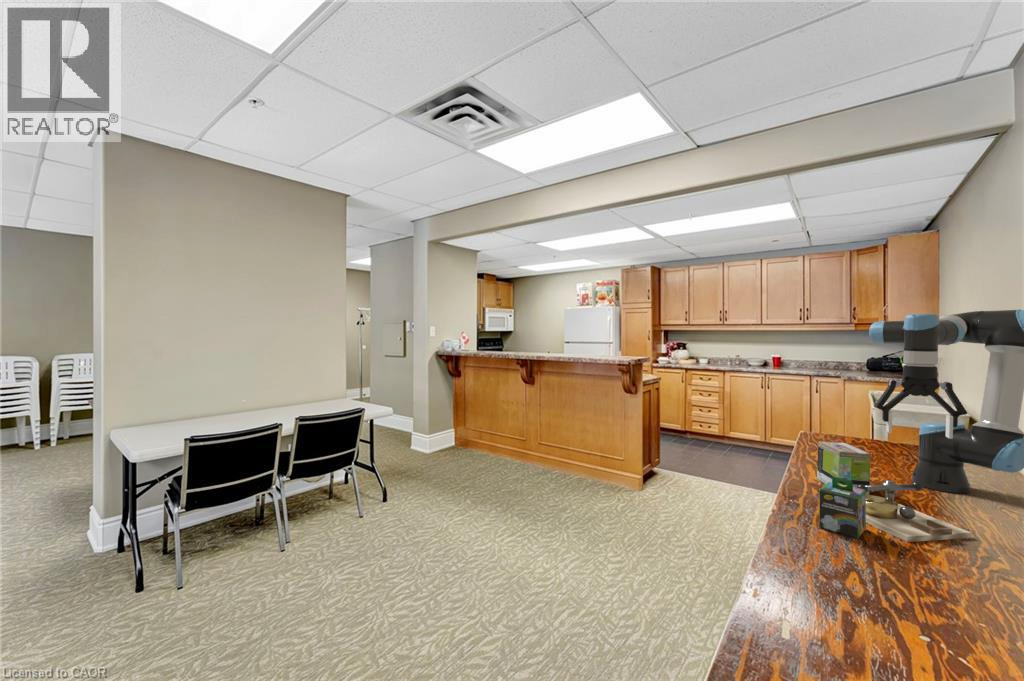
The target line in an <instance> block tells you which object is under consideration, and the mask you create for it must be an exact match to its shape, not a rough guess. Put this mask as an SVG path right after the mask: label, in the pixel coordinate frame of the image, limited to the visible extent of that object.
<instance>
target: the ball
mask: <svg viewBox="0 0 1024 681" xmlns="http://www.w3.org/2000/svg"><path fill="white" fill-rule="evenodd" d="M903 506H904V507H901V508H900V510H899V513H900V515H901V516H902V517H903V518H905V519H913V518H914V517H915V515H916V513H915V511H914V510H915V509H913V508H912V507H910V506H905V505H903Z"/></svg>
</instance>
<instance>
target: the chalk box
mask: <svg viewBox="0 0 1024 681" xmlns="http://www.w3.org/2000/svg"><path fill="white" fill-rule="evenodd" d="M839 481H842V482H844V483H846V484H847V486H846V485H841V484H838V482H839ZM818 493H819V494H818V495H819V497H818V498H819V500H818V502H819V504H818V506H819V509H818V510H819V512H818V515H819V518H818V519H819V520H818V521H819V522H818V523H819V526H818V527H819V529H824V530H828V531H831V532H834V533H838V534H839V535H844V536H846V537H850V538H853V539H856V540H857V539H859V538H860V537H861V536H862V534H864V532H865V530H866V529H867V523H866V490H865V489H860V488H856V487H853V483H852V481H851V480H848V479H843V478H839V477H832V483H831V482H828V483H827V484H825V483H824V484H823V486H822V487H821V488H820V489H819V492H818Z"/></svg>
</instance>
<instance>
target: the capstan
mask: <svg viewBox="0 0 1024 681" xmlns="http://www.w3.org/2000/svg"><path fill="white" fill-rule="evenodd" d="M857 488H860V489H865V490H866V493H867V492H869V493H870V492H871V493H872V492H883V493H884V494H885V497H882V496H878V495H870V494H869V495H866V514H869V515H872V516H876V517H881V518H890V519H892V518H897V517H898V504H899V503H898V502H896V501H895V495H898V494H899V491H909V490H910V491H911V490H914V491H916V492H921V491H923V489H924V487H923V485H922V484H921V483H919V482H912V483H904V484H900V483H899V484H897V483H895V481H894V480H890V479H886V480H885V481H882V482H881V485H880V484H879V485H870V486H865V485H858V486H857Z"/></svg>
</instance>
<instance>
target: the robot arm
mask: <svg viewBox="0 0 1024 681" xmlns="http://www.w3.org/2000/svg"><path fill="white" fill-rule="evenodd" d="M868 334H869V338H870V340H871V341H872V342H874V343H875V344H877V343H879V344H900V345H901V344H902V345H903V361H902V363H903V364H905V365H903V366H902V379H901V380H895V379H889V380H888V385H887V387H886V389H885V390H884V392H883V393H882V394H881V396H880V397H879V399H878V400H877V402H876V403H875V404H874V407H875V408H876V409H878V410H880V411H881V412H882V413H881V414H882V416H881V417H882V419H881V420H882V421H883V422H886V426H885V431H886V433H888V434H892V433H893V411H891V410H892V409H893V408H895V407H896V406H897V405H898V404H899V403H901V402H902V401H903V400H904V399H905V398H907V397H908V396H910V395H911V396H915V397H919V396H921V397H928V396H930V397H931V398H932V399H934V400H935V401H936V402H937V404H939V405H940V407H942V408H943V409H944V410H945V411H946V412H947V413H949V414H945V422H943V421H942V422H939V421H937V422H936V421H935V422H934V421H933V422H930V421H928V422H924V423H921V424H920V426H919V430H918V431H919V432H918V461H917V464H915V465H916V466H915V467H914V469H913V472H912V473H911V478H910V479H911V482H912V483H914V482H919V483H921V484H922V485H923V488H927V489H931V490H935V491H940V492H946V493H954V494H967V493H971V484H970V482H969V479H968V476H967V473H966V471H965V468H964V464H968V465H974V466H977V467H981V468H987V469H990V470H991V469H992V470H994V471H996V472H997V471H999V472H1000V471H1001V472H1005V473H1011V474H1014V473H1018V472H1021V471H1022V470H1024V431H1022V430H1021V429H1020V428H1019V423H1020V417H1021V411H1022V405H1023V399H1024V309H1010V310H1008V309H1007V310H1006V309H1005V310H1003V309H1002V310H978V311H977V310H975V311H968V312H961V313H955V314H954V313H953V314H946V315H942V316H940V317H939V316H938V314H936V313H919V314H918V313H913V314H912V313H911V314H906V315H905V317H904V320H882V321H875V322H873V323H871V325H870V327H869V331H868ZM960 342H961V343H967V344H968V343H969V344H982V345H983V344H984V349H986V350H987V351H988V352H989V358H988V365H987V372H986V378H985V384H984V392H983V397H982V404H981V409H980V415H979V421H977V422H975V423H973V424H972V425H971V429H967V427H966V425H965V424H963V423H958V421H959V419H958V418H959V417H960V416H963V415H965V416H966V415H967V414H968V412H967V410H966V408H965V407H964V405H963V404H962V402H961V401H960V399H959V397H958V396H957V394H956V393H955V391H954V388H953V383H952V382H949V381H944V382H938V367H937V366H936V365H939V364H938V363H939V362H938V360H939V359H938V358H939V357H938V356H939V354H938V353H939V346H950V345H955V344H957V343H960ZM899 386H901V387H902V388H903V389H902V390H901V391H900V392H899V393H898V394H897V395H896V396H894V397H893V398H892V399H891V400H890V401H888V400H889V398H890V397H891V395H892V394H893V393H894V391H895V389H896V388H898V387H899ZM939 387H940V388H941V389H942V390H943V391H944V392H945V393H946V396H947V397H948V398H949V400H950V401H951V403H952V405H953V406H954V408H955V409H956V410H955V409H954V408H953V407H952V406H951V405H950V404H949V403H948V402H947V401H946V400H944V399H943V397H941V395H940V394H938V393H937V392H936V390H937V389H939ZM887 401H888V402H887ZM886 402H887V403H886Z"/></svg>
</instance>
